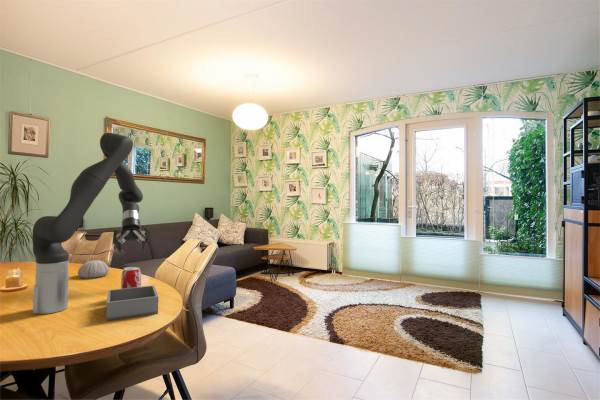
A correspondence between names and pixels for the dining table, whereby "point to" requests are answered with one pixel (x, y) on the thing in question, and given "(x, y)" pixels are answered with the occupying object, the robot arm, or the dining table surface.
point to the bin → (131, 302)
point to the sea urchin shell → (93, 269)
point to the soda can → (131, 277)
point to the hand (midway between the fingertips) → (131, 250)
